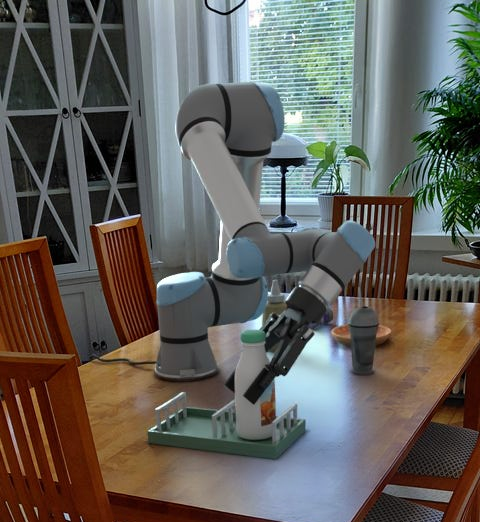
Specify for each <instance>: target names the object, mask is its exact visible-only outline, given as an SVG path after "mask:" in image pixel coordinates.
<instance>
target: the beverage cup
mask: <svg viewBox="0 0 480 522" xmlns="http://www.w3.org/2000/svg"><path fill="white" fill-rule="evenodd" d="M357 290H358V291H357V292H358V300H359V306H358V307H356V308H355V309H354V310H353V311H352V312H351V313H350V316H349V317H348V323H347V324H348V326H349V331H350V338H351V346H350V351H351V352H350V353H351V365H352V373H353V374H356V375H360V376H361V375H363V376H364V375H370V374H372V373H373V366H374V361H375V360H374V359H375V352H376V351H375V350H376V346H375V344H376V335H377V331H378V325H380V322H379V317H378V314H377V312H376V311H375V310H374V309H373V308H372V307H369V306H367V305H366V306H365V305H364V306H363V302H362V301H363V300H362V292H361V286H359V287H357Z"/></svg>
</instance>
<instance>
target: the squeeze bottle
mask: <svg viewBox="0 0 480 522" xmlns="http://www.w3.org/2000/svg"><path fill="white" fill-rule="evenodd" d="M286 309H287V305H286V303H285V293H282V292H281V290H280V285H279V281H278V279H273V280H272V283H271V289H270V293H268V300H267V305H266V308H265V310H264V312H263V314H262V318H261V320H262V321H261V327H262V326H263V325H264V324H265V323H266V321H267V320H268V318H269V316H270V315H271V314H272V313H273V312H275V313H276V314H277V315H281V314H282V313H283V312H284V311H285V310H286ZM278 344H279V342H278V343H277V344H276V345H274V346H273V347H272V348H271V349H270V350H269V351H268V352H275V351H276V349H277V347H278Z"/></svg>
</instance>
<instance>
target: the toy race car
mask: <svg viewBox="0 0 480 522" xmlns="http://www.w3.org/2000/svg"><path fill="white" fill-rule="evenodd" d="M333 319H334V312H333V309H331V307H328V308H326V313H325V314H324V316H323V317H322V318H321V320H320V321H319V322H318V324H317V325H309V328H310V329H311V330H312V331H313V330H315V329H317V328H319V327H320V326H323V325H327V324H330V323H331V322H332V321H333Z"/></svg>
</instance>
